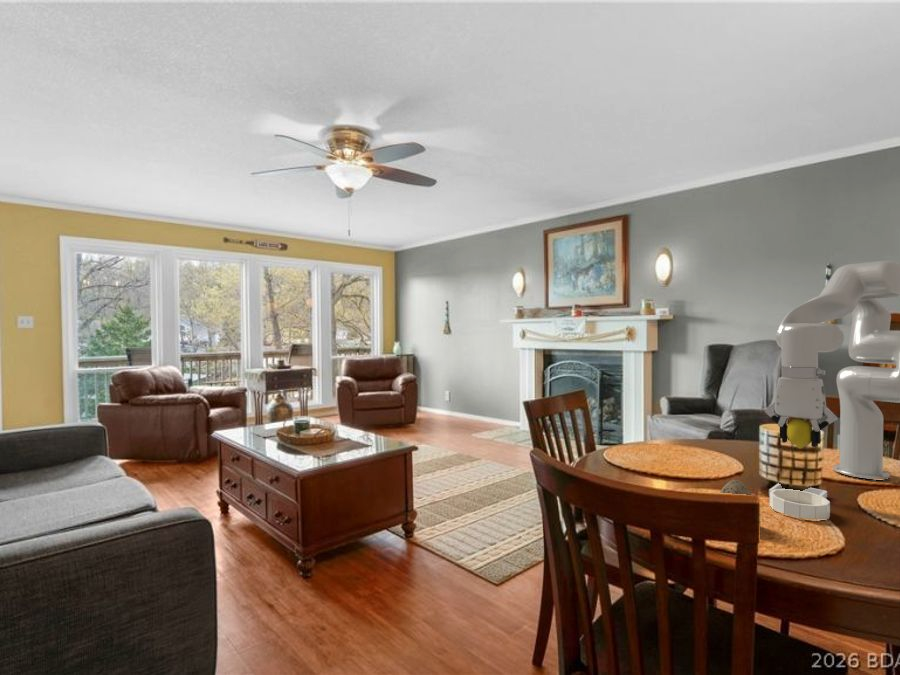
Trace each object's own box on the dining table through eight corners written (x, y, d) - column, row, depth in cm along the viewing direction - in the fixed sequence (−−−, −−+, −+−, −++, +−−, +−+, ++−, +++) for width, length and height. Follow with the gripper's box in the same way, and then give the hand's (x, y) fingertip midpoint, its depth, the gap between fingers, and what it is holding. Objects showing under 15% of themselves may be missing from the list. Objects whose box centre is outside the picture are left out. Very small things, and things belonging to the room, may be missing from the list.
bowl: (778, 499, 119) (778, 485, 119) (833, 512, 111) (834, 497, 111) (764, 510, 112) (764, 496, 112) (822, 525, 104) (822, 509, 103)
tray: (780, 487, 128) (780, 481, 128) (827, 496, 121) (827, 491, 121) (768, 495, 122) (768, 489, 122) (817, 506, 114) (817, 500, 114)
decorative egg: (713, 525, 104) (713, 479, 104) (722, 515, 109) (722, 472, 109) (750, 534, 99) (751, 487, 99) (758, 524, 104) (759, 479, 104)
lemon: (818, 451, 118) (817, 419, 118) (793, 451, 119) (792, 419, 119) (806, 445, 124) (806, 415, 123) (782, 445, 125) (782, 415, 124)
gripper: (845, 374, 117) (846, 447, 117) (765, 370, 130) (765, 435, 130) (839, 377, 112) (839, 453, 112) (755, 372, 125) (756, 440, 125)
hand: (799, 443), depth 121 cm, fingers closed on lemon, 5 cm apart
